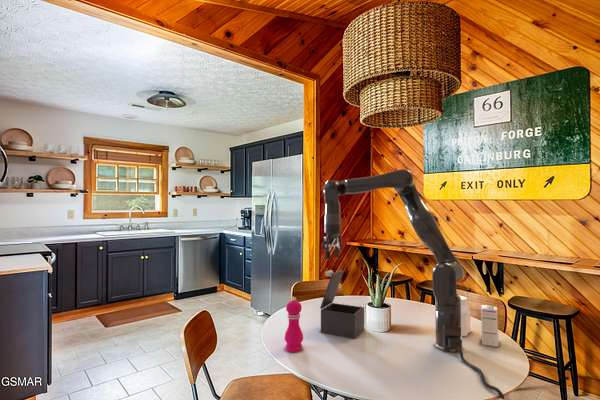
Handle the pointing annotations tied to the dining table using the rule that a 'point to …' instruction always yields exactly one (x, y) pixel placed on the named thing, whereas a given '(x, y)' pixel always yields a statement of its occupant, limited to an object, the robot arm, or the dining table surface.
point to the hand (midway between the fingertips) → (332, 258)
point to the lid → (331, 287)
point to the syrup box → (489, 325)
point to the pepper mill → (293, 327)
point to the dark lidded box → (342, 320)
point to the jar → (465, 317)
